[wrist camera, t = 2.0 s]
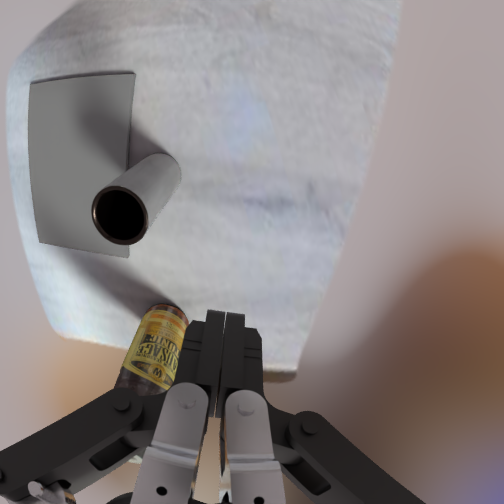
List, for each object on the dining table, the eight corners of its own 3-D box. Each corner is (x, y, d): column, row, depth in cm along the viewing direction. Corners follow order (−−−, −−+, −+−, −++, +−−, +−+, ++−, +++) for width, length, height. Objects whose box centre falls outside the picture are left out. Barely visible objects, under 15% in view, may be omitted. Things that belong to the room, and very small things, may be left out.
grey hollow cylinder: (149, 202, 29) (108, 253, 20) (132, 163, 26) (80, 200, 17) (188, 187, 28) (159, 235, 19) (171, 145, 26) (130, 175, 17)
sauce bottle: (199, 318, 37) (174, 465, 19) (175, 341, 39) (146, 471, 22) (157, 291, 34) (105, 439, 17) (135, 317, 37) (88, 448, 20)
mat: (33, 84, 21) (30, 84, 20) (135, 74, 22) (133, 74, 21) (41, 240, 31) (39, 242, 30) (129, 255, 32) (127, 258, 31)
